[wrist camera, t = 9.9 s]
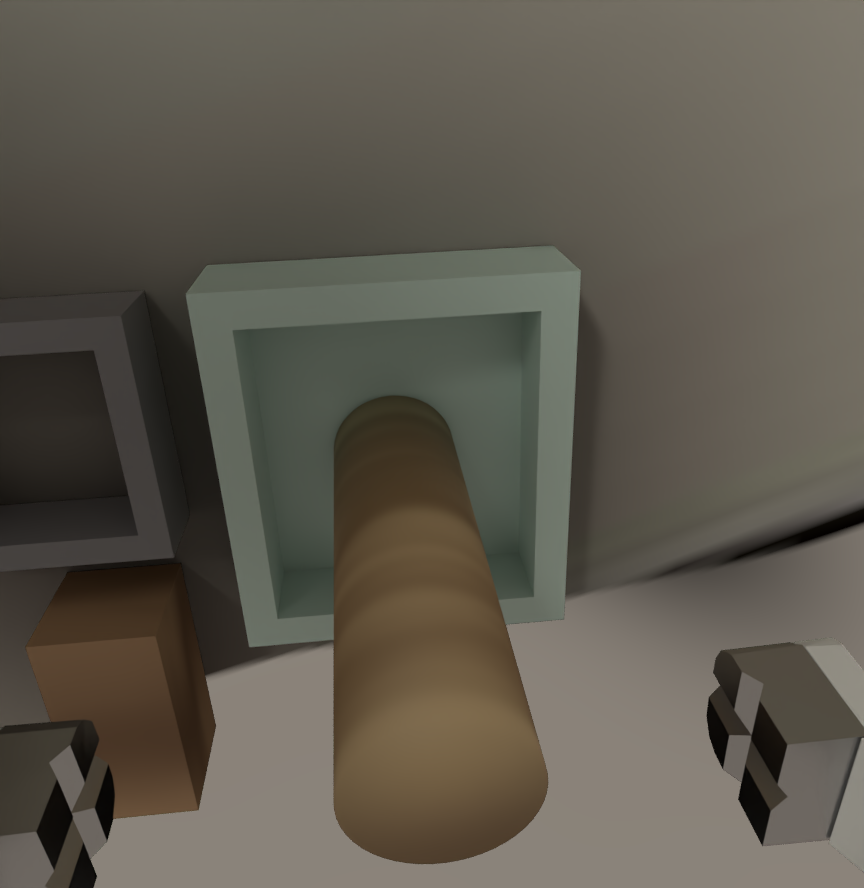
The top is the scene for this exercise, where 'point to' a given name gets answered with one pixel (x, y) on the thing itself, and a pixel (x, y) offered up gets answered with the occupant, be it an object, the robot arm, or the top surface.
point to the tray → (378, 375)
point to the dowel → (421, 652)
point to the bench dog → (130, 681)
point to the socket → (135, 430)
